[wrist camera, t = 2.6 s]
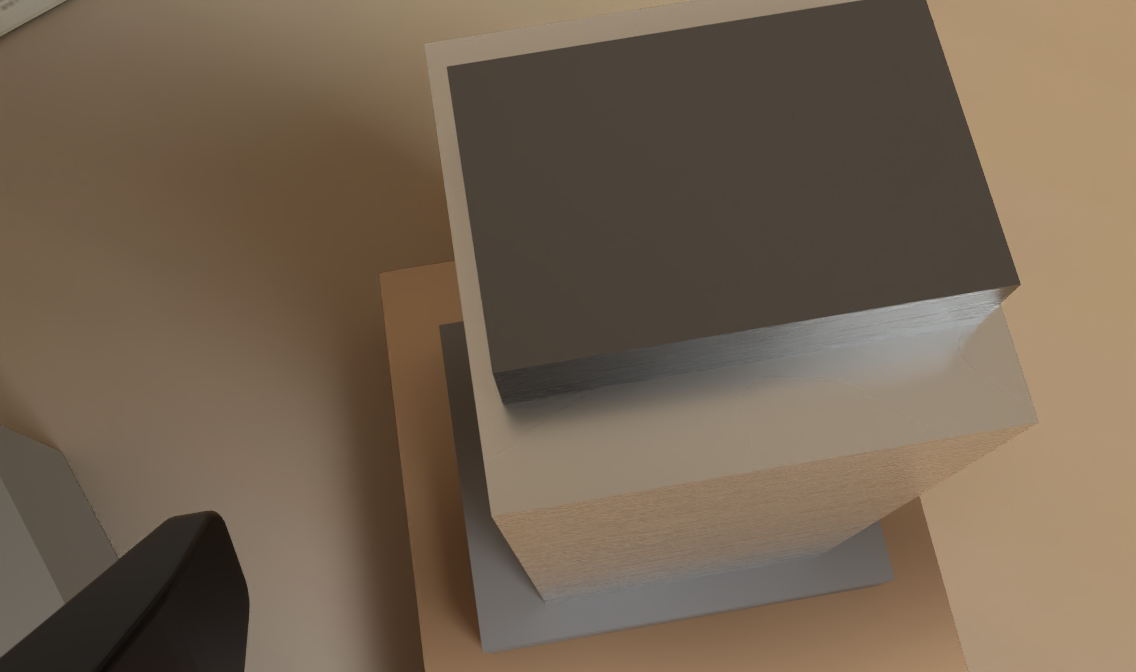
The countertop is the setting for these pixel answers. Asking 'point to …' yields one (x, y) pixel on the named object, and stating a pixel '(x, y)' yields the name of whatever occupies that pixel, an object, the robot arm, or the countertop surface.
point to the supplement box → (22, 12)
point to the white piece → (719, 282)
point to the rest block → (42, 536)
